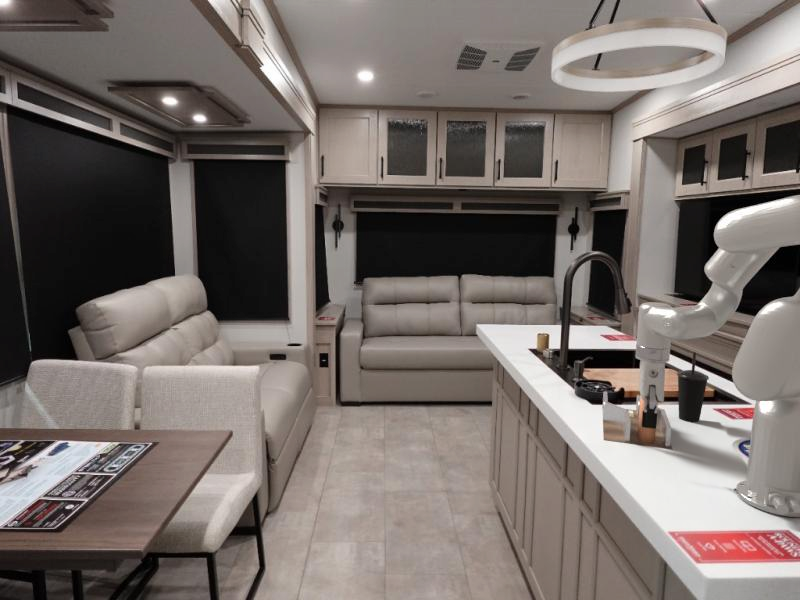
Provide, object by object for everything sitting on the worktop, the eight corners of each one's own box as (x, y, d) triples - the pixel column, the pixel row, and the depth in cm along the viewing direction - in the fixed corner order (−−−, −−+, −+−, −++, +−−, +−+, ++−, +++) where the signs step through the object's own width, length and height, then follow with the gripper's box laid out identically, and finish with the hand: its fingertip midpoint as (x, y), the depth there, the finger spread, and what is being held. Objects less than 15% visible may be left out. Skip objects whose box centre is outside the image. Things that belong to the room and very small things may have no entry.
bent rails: (669, 447, 126) (671, 427, 125) (603, 438, 131) (604, 419, 130) (658, 414, 148) (660, 397, 147) (602, 407, 153) (603, 391, 152)
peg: (655, 444, 128) (659, 397, 126) (637, 441, 129) (641, 395, 127) (653, 437, 131) (657, 392, 130) (636, 435, 133) (640, 390, 131)
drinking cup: (669, 422, 145) (675, 352, 142) (678, 415, 150) (683, 347, 147) (699, 429, 139) (706, 357, 136) (707, 422, 145) (714, 352, 142)
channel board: (672, 453, 125) (672, 449, 125) (603, 443, 130) (603, 439, 130) (660, 416, 149) (660, 412, 149) (602, 409, 154) (602, 406, 154)
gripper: (674, 363, 118) (668, 437, 120) (665, 346, 134) (659, 412, 136) (638, 360, 120) (633, 432, 123) (633, 344, 136) (628, 408, 139)
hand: (647, 421), depth 130 cm, fingers open, 7 cm apart
